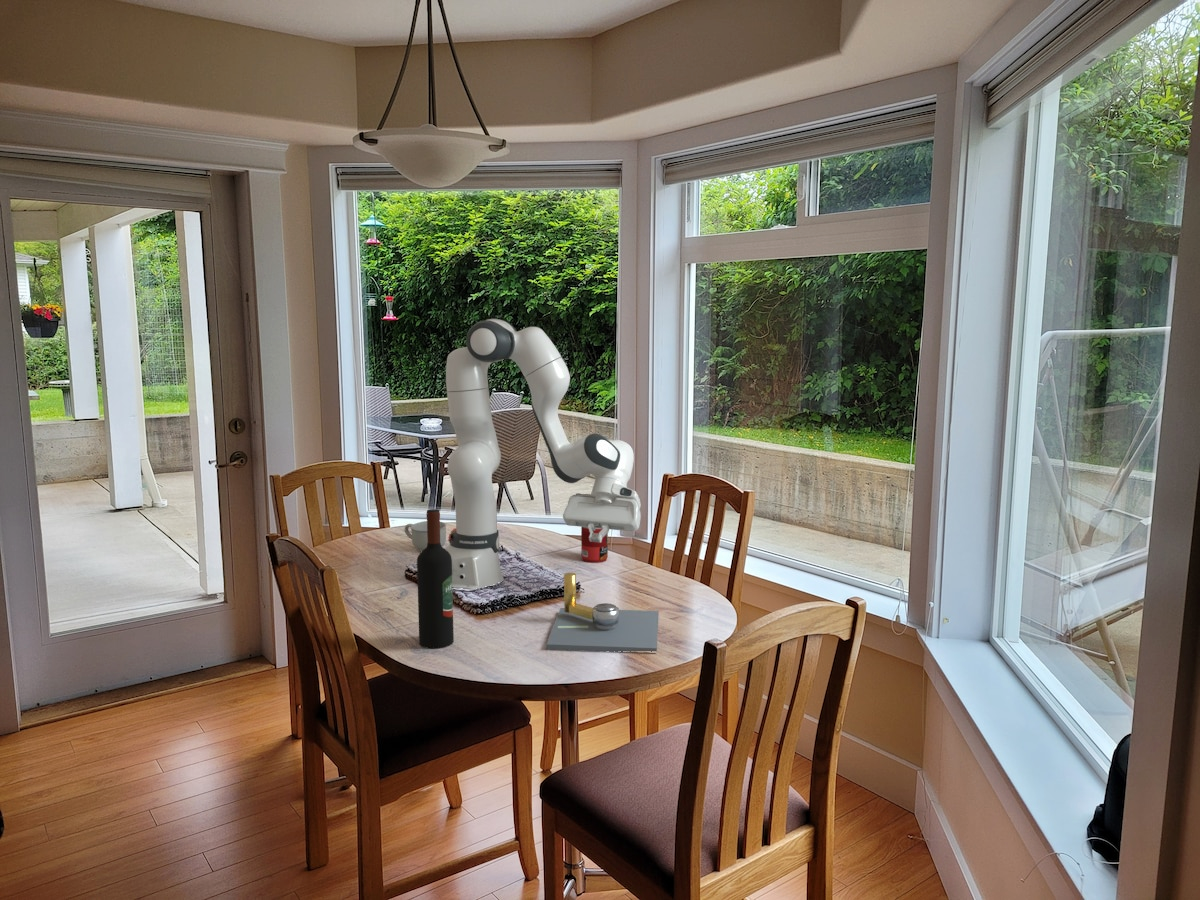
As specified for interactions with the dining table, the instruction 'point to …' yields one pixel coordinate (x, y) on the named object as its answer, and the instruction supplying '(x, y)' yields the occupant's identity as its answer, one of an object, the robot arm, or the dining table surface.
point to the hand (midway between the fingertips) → (594, 540)
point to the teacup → (423, 534)
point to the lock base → (605, 633)
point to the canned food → (593, 547)
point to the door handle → (599, 613)
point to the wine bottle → (435, 589)
